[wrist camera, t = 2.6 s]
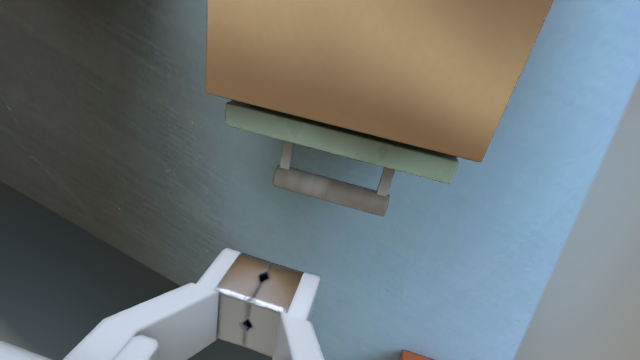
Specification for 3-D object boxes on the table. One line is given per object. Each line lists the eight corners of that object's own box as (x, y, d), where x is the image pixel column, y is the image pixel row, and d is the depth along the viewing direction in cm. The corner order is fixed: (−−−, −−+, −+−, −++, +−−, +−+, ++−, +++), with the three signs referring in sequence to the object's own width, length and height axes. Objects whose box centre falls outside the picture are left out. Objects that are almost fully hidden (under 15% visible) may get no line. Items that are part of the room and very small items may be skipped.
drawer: (418, 188, 25) (421, 255, 18) (270, 149, 26) (220, 196, 19) (533, -128, 16) (620, -228, 10) (307, -161, 18) (244, -269, 11)
